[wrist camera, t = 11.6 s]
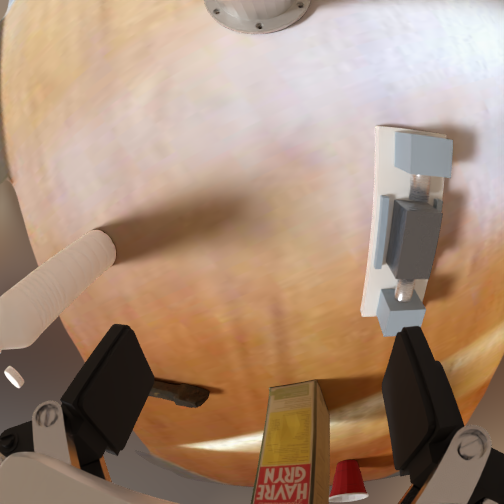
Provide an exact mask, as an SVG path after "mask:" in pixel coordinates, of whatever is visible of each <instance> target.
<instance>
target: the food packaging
mask: <svg viewBox="0 0 504 504" xmlns="http://www.w3.org/2000/svg"><path fill="white" fill-rule="evenodd" d="M329 480H330V417H329V412H328V409H327V406H326V403H325V400H324V398H323V394H322V391H321V389H320V386H319V384H318V382H317V380H312V381H307V382H303V383H297V384H292V385H286V386H279V387H272V388H269V399H268V407H267V414H266V421H265V427H264V433H263V439H262V445H261V451H260V456H259V462H258V468H257V474H256V479H255V483H254V489H253V495H252V500H251V504H328V503H329Z"/></svg>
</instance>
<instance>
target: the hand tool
mask: <svg viewBox="0 0 504 504" xmlns="http://www.w3.org/2000/svg"><path fill="white" fill-rule="evenodd" d="M209 393H210V392H209V391H207V390H205V389H202V388H199V387H195V386H191V385H187V384H181V385H174V384H169V383H164V382H158V381H154V385H153V387H152V389H151V391H150V393H149V395H148V396H153V397H158V398H162V399H167V400H171V401H174V402H175V404H176V405H180V406H186V407H191V408H192V407H194V408H196V407H199V406H201V405H202V404H203V403H204V402H205V401H206V400H207V399H208V397H209Z"/></svg>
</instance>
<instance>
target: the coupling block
mask: <svg viewBox="0 0 504 504" xmlns="http://www.w3.org/2000/svg"><path fill="white" fill-rule="evenodd" d="M442 215H443V213H441V212H440V211H438V210H437V209H436V208H434V207H433V206H431V205H430V204H429V203H427V202H417V201H407V200H394V207H393V215H392V223H391V231H390V238H389V244H388V251H387V257H386V263H387V264H388V266H389V268H390V270H391V272H392V273H393V275H394V277H395V279H429V277H430V273H431V269H432V265H433V261H434V256H435V252H436V247H437V242H438V237H439V232H440V227H441V221H442Z"/></svg>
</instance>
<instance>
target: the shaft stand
mask: <svg viewBox="0 0 504 504" xmlns="http://www.w3.org/2000/svg"><path fill="white" fill-rule="evenodd" d="M452 152H453V140H450V139H446V134H440V133H433V132H427V131H419V130H412V129H403V128H394V127H384V126H375V174H374V196H373V211H372V224H371V235H370V245H369V254H368V262H367V270H366V277H365V284H364V291H363V297H362V304H361V310H360V311H361V315H362V317H369V316H377V318H378V321H379V324H380V327H381V330H382V333H383V336H384V337H385V336H396V335H397V333H398V332H401V330H402V328H403V327H410V326H420V327H421V324H422V321H423V318H424V315H425V311H426V308H425V307H424V305H423V303H422V302H423V298H424V294H425V290H426V286H427V282H428V279H395V277H394V275H393V273H392V272H391V270H390V268H389V266H388V264H387V263H386V257H387V251H388V244H389V238H390V231H391V223H392V215H393V207H394V200H407V201H417V202H427V203H429V204H430V205H431V206H433V207H434V208H436V209H437V210H438V211H440V212H442V204H443V201H442V197H443V188H444V177H446V178H451V170H452Z"/></svg>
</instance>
